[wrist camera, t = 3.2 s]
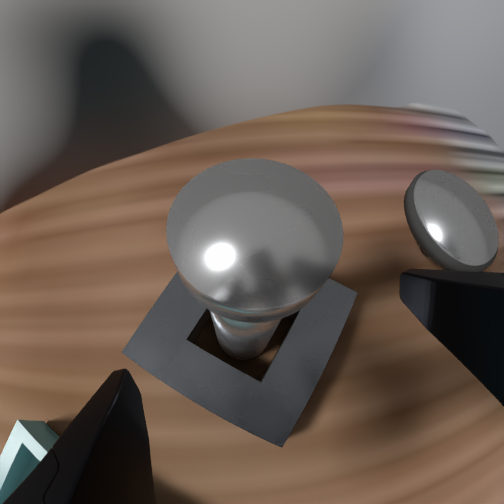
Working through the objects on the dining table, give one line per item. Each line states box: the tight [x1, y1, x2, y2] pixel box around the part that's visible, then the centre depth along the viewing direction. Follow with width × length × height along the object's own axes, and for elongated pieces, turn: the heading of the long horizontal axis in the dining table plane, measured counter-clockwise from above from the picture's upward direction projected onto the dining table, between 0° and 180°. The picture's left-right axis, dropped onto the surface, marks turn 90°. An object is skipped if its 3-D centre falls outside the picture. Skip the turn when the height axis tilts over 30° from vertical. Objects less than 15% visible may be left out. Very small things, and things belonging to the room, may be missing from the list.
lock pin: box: [166, 158, 343, 360], centre depth 13 cm, size 4×4×12 cm
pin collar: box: [122, 271, 357, 448], centre depth 17 cm, size 10×10×2 cm
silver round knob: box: [404, 170, 498, 272], centre depth 19 cm, size 9×9×5 cm
